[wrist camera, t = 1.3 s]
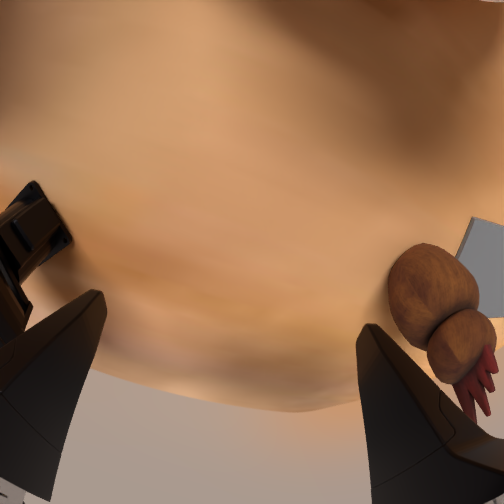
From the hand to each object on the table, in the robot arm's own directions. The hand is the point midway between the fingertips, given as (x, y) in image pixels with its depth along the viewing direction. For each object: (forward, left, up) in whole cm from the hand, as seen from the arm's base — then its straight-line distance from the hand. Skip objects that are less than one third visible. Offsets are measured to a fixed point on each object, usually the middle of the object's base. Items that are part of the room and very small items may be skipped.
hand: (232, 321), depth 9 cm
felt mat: (+20, -18, -12) cm, 30 cm away
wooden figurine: (+10, -11, -12) cm, 19 cm away
